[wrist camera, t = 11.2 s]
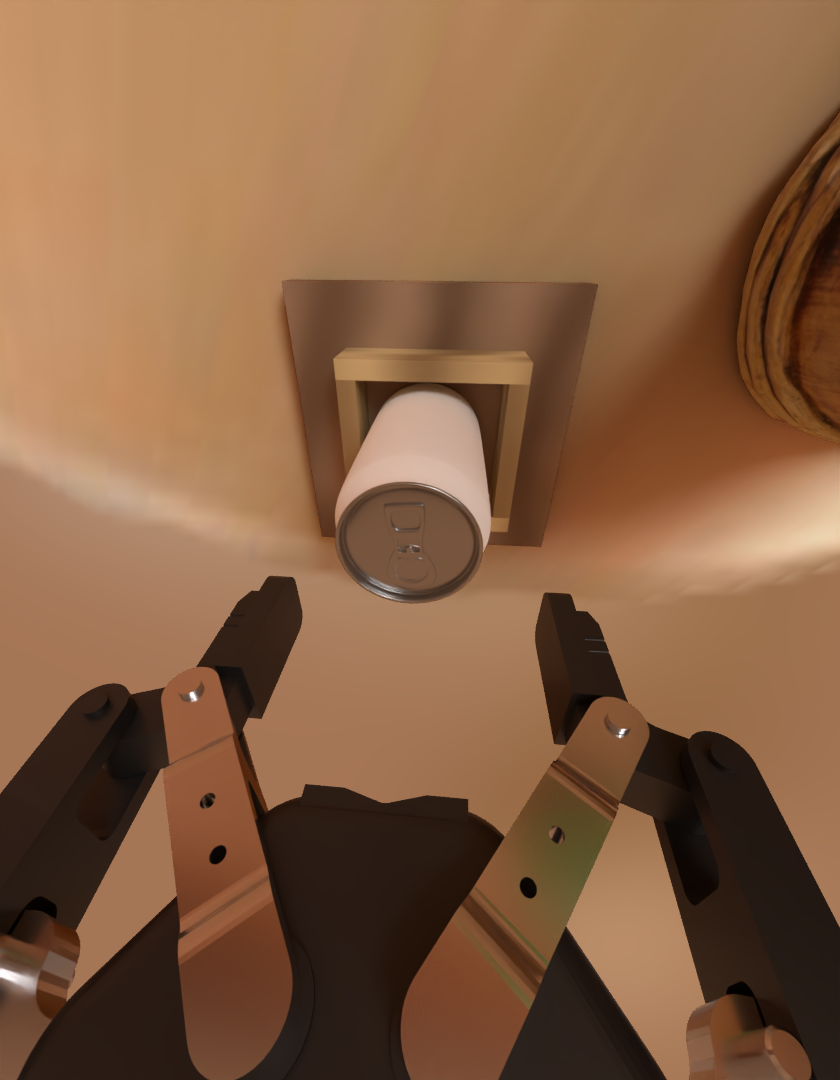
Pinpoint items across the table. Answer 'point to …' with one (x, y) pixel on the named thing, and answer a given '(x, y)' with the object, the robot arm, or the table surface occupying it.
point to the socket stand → (443, 376)
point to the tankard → (797, 299)
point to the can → (416, 499)
